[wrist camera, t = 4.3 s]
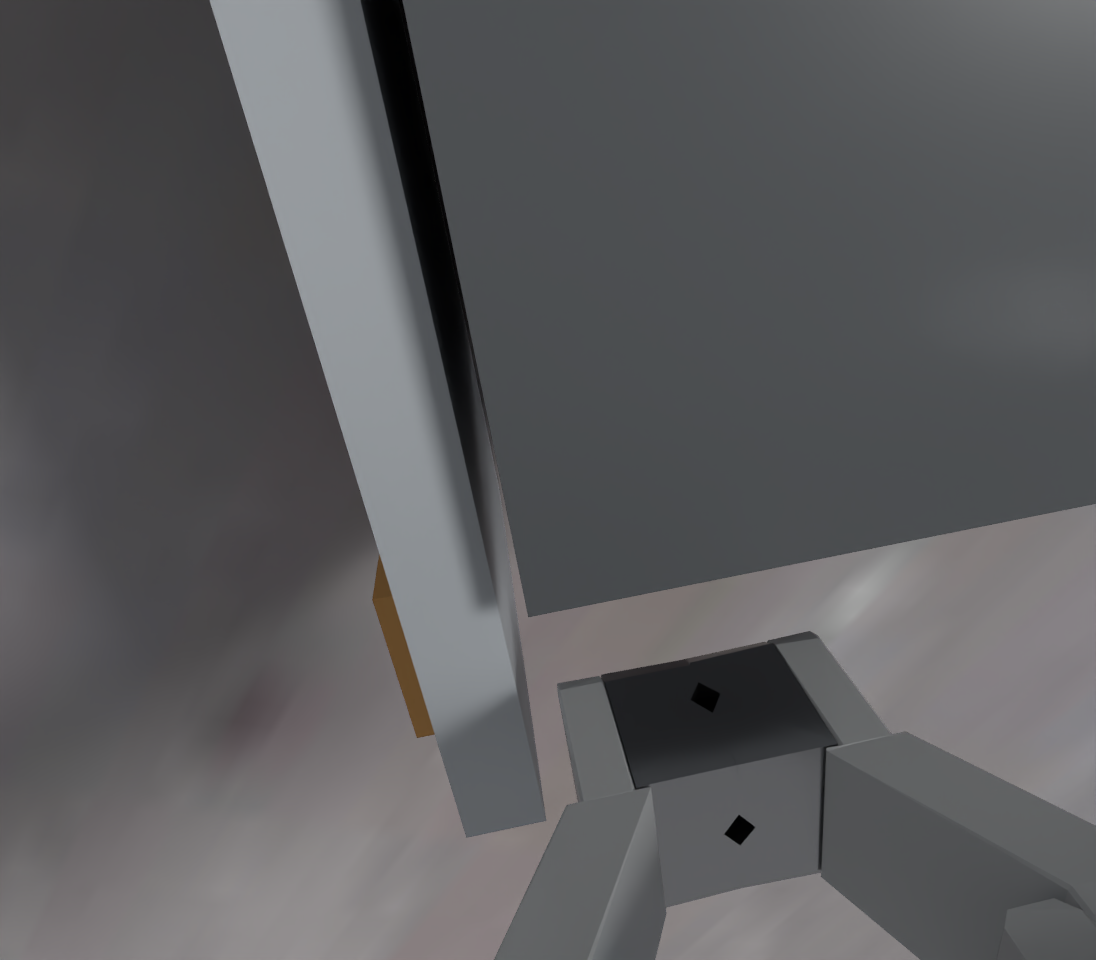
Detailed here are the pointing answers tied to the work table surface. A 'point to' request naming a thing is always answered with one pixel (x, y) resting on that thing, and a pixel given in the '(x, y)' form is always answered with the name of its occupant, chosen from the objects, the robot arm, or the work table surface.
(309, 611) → the work table surface
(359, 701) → the work table surface
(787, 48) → the cabinet body
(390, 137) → the door
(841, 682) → the robot arm
